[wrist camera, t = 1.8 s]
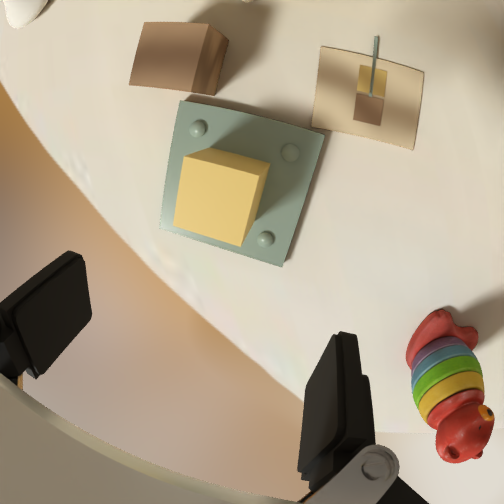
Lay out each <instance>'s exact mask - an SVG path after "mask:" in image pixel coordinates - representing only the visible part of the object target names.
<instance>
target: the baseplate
mask: <svg viewBox="0 0 504 504" xmlns="http://www.w3.org/2000/svg"><path fill="white" fill-rule="evenodd" d="M324 137H325V135H324V134H321V133H318V132H314V131H311V130H308V129H305V128H301V127H298V126H295V125H291V124H288V123H284V122H280V121H277V120H273V119H269V118H265V117H261V116H257V115H253V114H249V113H245V112H240V111H236V110H231V109H226V108H222V107H217V106H211V105H206V104H201V103H195V102H189V101H181V100H180V103H179V107H178V112H177V117H176V122H175V127H174V132H173V138H172V143H171V149H170V155H169V161H168V167H167V173H166V180H165V187H164V194H163V202H162V210H161V218H160V227H159V229H162V230H166V231H169V232H172V233H175V234H178V235H181V236H184V237H187V238H191V239H194V240H197V241H200V242H203V243H206V244H209V245H212V246H216V247H219V248H222V249H225V250H228V251H231V252H235V253H238V254H241V255H244V256H247V257H250V258H253V259H257V260H260V261H263V262H266V263H269V264H272V265H276V266H279V267H282V266H283V263H284V260H285V257H286V255H287V252H288V249H289V246H290V243H291V240H292V237H293V234H294V231H295V228H296V225H297V222H298V219H299V216H300V213H301V210H302V207H303V204H304V201H305V198H306V194H307V191H308V188H309V185H310V182H311V179H312V176H313V173H314V169H315V166H316V163H317V160H318V157H319V153H320V150H321V147H322V144H323V140H324ZM209 147H210V148H214V149H218V150H222V151H226V152H230V153H234V154H238V155H242V156H246V157H249V158H253V159H257V160H260V161H264V162H267V163H270V167H269V170H268V174H267V178H266V181H265V185H264V189H263V192H262V196H261V200H260V203H259V207H258V211H257V214H256V218H255V222H254V223H253V225H252V227H251V229H250V231H249V233H248V235H247V236H246V238H245V240H244V242H243V244H242V246H241V247H239V246H236V245H233V244H229V243H226V242H223V241H220V240H217V239H213V238H210V237H207V236H204V235H201V234H198V233H194V232H191V231H188V230H185V229H182V228H178V227H175V226H173V221H174V214H175V207H176V200H177V194H178V187H179V181H180V175H181V169H182V164H183V158H184V156H186V155H189V154H191V153H194V152H197V151H200V150H203V149H206V148H209Z"/></svg>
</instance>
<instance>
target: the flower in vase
mask: <svg viewBox="0 0 504 504" xmlns="http://www.w3.org/2000/svg"><path fill="white" fill-rule="evenodd" d="M2 1H3V2H4V3H5V9H6V17H7V20H8V23H9V25H10V26H12V27H13V28H15V29H20V28H22V27H24V26H26V25H27V24H29V23H30V22H32V21H33V20H34V19H35V18H36V17H37V16H38V14H39V13H40V12H41V11H42V9H43V8H44V6H45V5H46V3H47V1H48V0H2Z"/></svg>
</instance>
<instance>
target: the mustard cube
mask: <svg viewBox="0 0 504 504" xmlns="http://www.w3.org/2000/svg"><path fill="white" fill-rule="evenodd" d="M269 167H270V163H267V162H264V161H260V160H257V159H253V158H249V157H246V156H242V155H238V154H234V153H230V152H226V151H222V150H218V149H214V148H210V147H209V148H206V149H203V150H200V151H197V152H194V153H191V154H189V155H186V156H184V158H183V164H182V169H181V175H180V181H179V187H178V194H177V200H176V207H175V214H174V221H173V226H175V227H178V228H182V229H185V230H188V231H191V232H194V233H198V234H201V235H204V236H207V237H210V238H213V239H217V240H220V241H223V242H226V243H229V244H233V245H236V246H239V247H241V246H242V244H243V242H244V240H245V238H246V236H247V235H248V233H249V231H250V229H251V227H252V225H253V223H254V222H255V218H256V214H257V211H258V207H259V203H260V200H261V196H262V192H263V189H264V185H265V181H266V178H267V174H268V170H269Z"/></svg>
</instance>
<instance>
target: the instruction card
mask: <svg viewBox="0 0 504 504" xmlns="http://www.w3.org/2000/svg"><path fill="white" fill-rule="evenodd" d="M377 43H378V37H376V36H375V39H374V51H373V57H369V56H365V55H361V54H357V53H352V52H347V51H342V50H337V49H332V48H326V47H321V49H320V59H319V68H318V76H317V85H316V93H315V101H314V108H313V116H312V123H311V127H315V128H321V129H326V130H332V131H337V132H342V133H347V134H351V135H356V136H360V137H365V138H369V139H373V140H377V141H381V142H385V143H389V144H393V145H396V146H400V147H404V148H407V149H410V150H413V147H414V141H415V136H416V130H417V123H418V117H419V110H420V103H421V94H422V86H423V75H424V73H423V72H420V71H417V70H414V69H411V68H408V67H405V66H402V65H399V64H395V63H392V62H388V61H385V60H381V59H377V58H376V55H377Z"/></svg>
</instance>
